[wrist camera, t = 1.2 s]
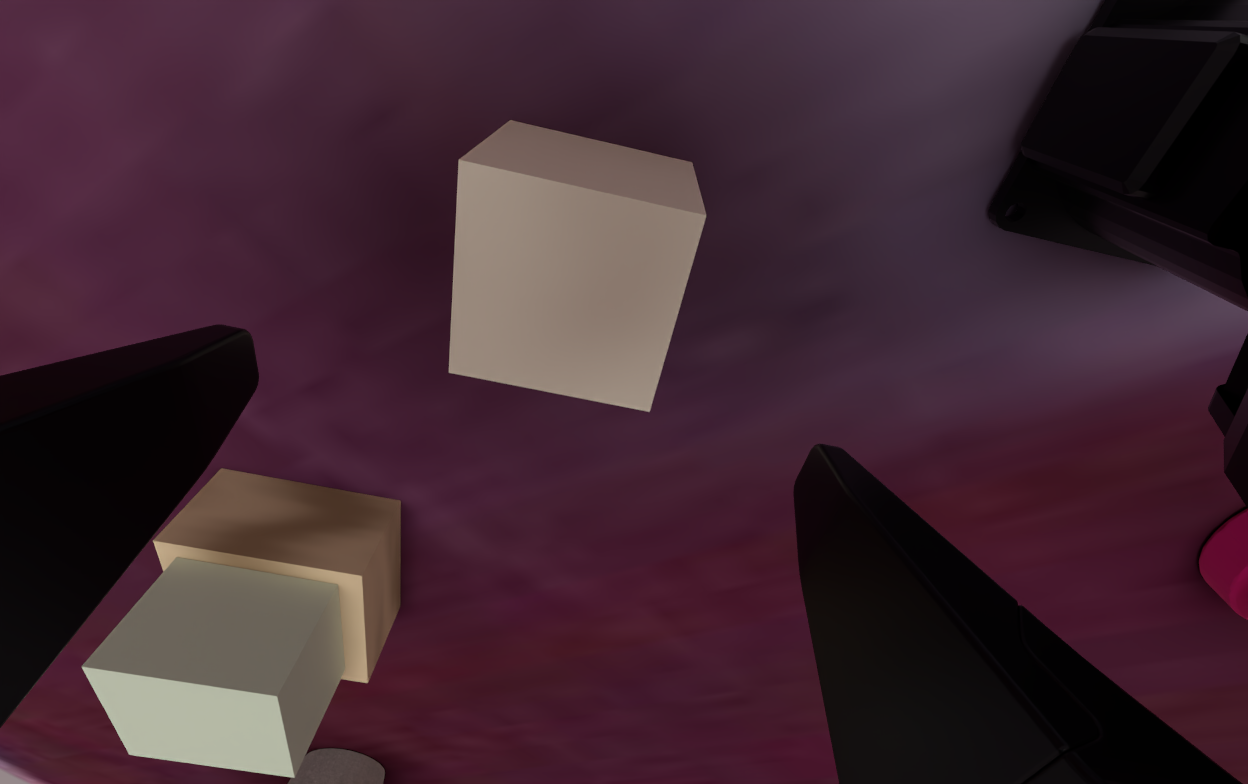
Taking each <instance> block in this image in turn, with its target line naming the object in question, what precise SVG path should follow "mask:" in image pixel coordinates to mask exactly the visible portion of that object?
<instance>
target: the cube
mask: <svg viewBox="0 0 1248 784" xmlns="http://www.w3.org/2000/svg"><path fill="white" fill-rule="evenodd" d="M706 216H707V215H706V212H705V208H704V204H703V200H702V197H701V193H700V189H699V186H698V182H697V178H696V174H695V171H694V167H693V163H692V162H689V161H684V160H680V159H676V158H671V157H667V156H663V155H659V154H654V153H650V152H646V151H641V150H637V149H633V148H628V147H624V146H620V145H616V144H611V143H607V142H603V141H598V140H594V139H590V138H585V137H581V136H577V135H573V134H568V133H564V132H560V131H555V130H551V129H547V128H543V127H538V126H534V125H530V124H525V123H521V122H517V121H512V120H510V121H508V122H507V123H506V124H505V125H503V126H502V127H501V128H499V129H498V130H497V131H495V132H494V133H493V134H491V135H490V136H489V137H488V138H486V139H485V140H484V141H482V142H481V143H480V144H478V145H477V146H476V147H474V148H473V149H472V150H471V151H469V152H468V153H467V154H465V155H464V156H463V157H461V158H460V159H459V163H458V184H457V206H456V227H455V248H454V269H453V291H452V312H451V333H450V354H449V373H453V374H458V375H464V376H469V377H474V378H479V379H484V380H489V381H494V382H499V383H504V384H509V385H515V386H520V387H525V388H530V389H535V390H540V391H545V392H550V393H555V394H561V395H566V396H571V397H576V398H581V399H586V400H591V401H596V402H601V403H607V404H612V405H617V406H622V407H627V408H632V409H637V410H642V411H647V412H650V409H651V405H652V402H653V398H654V395H655V392H656V388H657V385H658V381H659V378H660V374H661V371H662V367H663V364H664V361H665V357H666V354H667V350H668V347H669V343H670V340H671V336H672V333H673V330H674V326H675V323H676V319H677V316H678V312H679V309H680V305H681V302H682V299H683V295H684V292H685V288H686V285H687V281H688V278H689V274H690V271H691V267H692V264H693V261H694V257H695V254H696V250H697V247H698V243H699V240H700V236H701V233H702V230H703V226H704V223H705V219H706Z"/></svg>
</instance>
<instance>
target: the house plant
mask: <svg viewBox="0 0 1248 784" xmlns="http://www.w3.org/2000/svg"><path fill="white" fill-rule="evenodd" d="M384 776H385V770H384V768H383V767H382V766H381V765H380V763H378V762H377V761H375V760H374V759H372V758H370V757H368V756H366V755H363V754H360V753H357V752H354V751H349V750H344V749H334V748H328V749H318V750H314V751H312V752H310V753H308V754H306V756H305V757H304V759H303V761H302V763H301V766H300V768H299V770H298V772H297V774H296V776H295V778H292V777H291V779H290V781H289V782H288V784H383V781H384Z"/></svg>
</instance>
